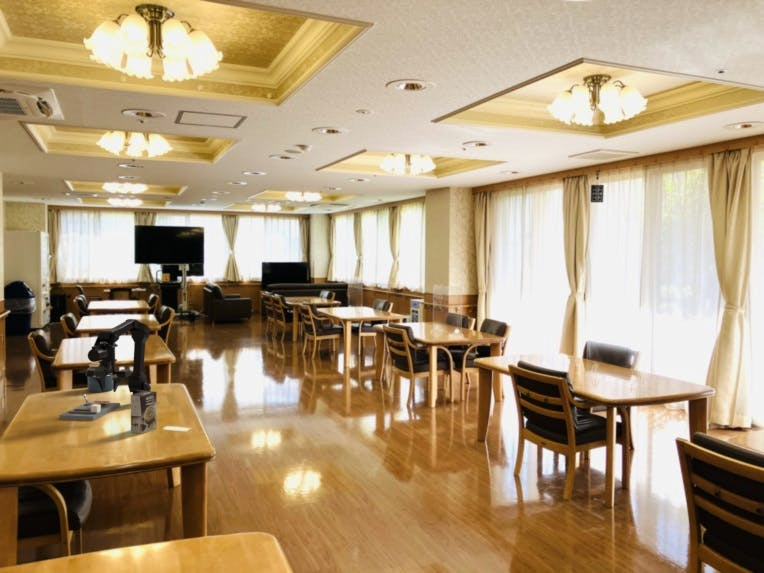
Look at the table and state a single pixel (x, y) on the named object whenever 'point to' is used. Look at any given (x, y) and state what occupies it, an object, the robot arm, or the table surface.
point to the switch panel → (89, 411)
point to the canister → (93, 383)
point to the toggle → (85, 398)
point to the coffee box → (143, 412)
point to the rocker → (101, 401)
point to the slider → (96, 408)
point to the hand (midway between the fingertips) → (108, 391)
